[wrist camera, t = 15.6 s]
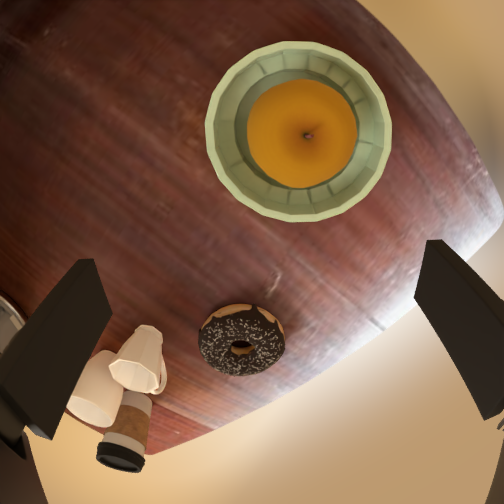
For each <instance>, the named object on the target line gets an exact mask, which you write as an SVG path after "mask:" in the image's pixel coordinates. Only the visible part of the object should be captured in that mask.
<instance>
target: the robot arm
mask: <svg viewBox="0 0 504 504" xmlns="http://www.w3.org/2000/svg"><path fill="white" fill-rule="evenodd" d="M414 299H415V300H416V302H417V303H418V305H419V306H420V308H421V309H422V311H423V313H424V314H425V315H426V317H427V319H428V320H429V322H430V324H431V325H432V327H433V328H434V330H435V332H436V333H437V335H438V337H439V338H440V340H441V341H442V343H443V345H444V346H445V348H446V350H447V352H448V353H449V355H450V357H451V359H452V360H453V362H454V364H455V366H456V367H457V369H458V371H459V373H460V374H461V376H462V378H463V380H464V382H465V384H466V386H467V388H468V389H469V391H470V393H471V395H472V397H473V399H474V401H475V403H476V405H477V407H478V409H479V411H480V413H481V415H482V417H483V419H484V420H487V419H489V418H491V417H494V416H496V415H498V414H500V413H501V412H502V411H503V409H504V301H503V300H502V299H500V298H499V297H498V295H497V294H496V293H495V292H494V291H493V290H492V289H491V288H490V287H489V286H488V285H487V284H486V283H485V281H484V280H483V279H482V278H480V276H479V275H478V274H477V273H476V272H475V271H474V270H473V269H472V268H471V267H470V266H469V265H468V264H467V263H466V262H465V261H464V260H463V259H462V258H461V257H460V256H459V255H458V254H457V253H456V252H455V251H454V250H452V249H451V248H450V247H449V246H448V245H447V244H446V243H445V242H444V241H443V240H442V239H441V240H427V242H426V247H425V252H424V257H423V261H422V266H421V270H420V275H419V279H418V283H417V287H416V291H415V295H414ZM112 314H113V313H112V310H111V308H110V305H109V302H108V300H107V297H106V294H105V292H104V289H103V286H102V283H101V280H100V277H99V274H98V271H97V268H96V265H95V262H94V259H79V260H78V261H77V262H76V263H75V264H74V265H73V266H72V267H71V268H70V270H69V271H68V272H67V273H66V274H65V275H64V276H63V278H62V279H61V280H60V281H59V282H58V283H57V285H56V286H55V287H54V288H53V289H52V291H51V292H50V293H49V294H48V295H47V297H46V298H45V299H44V300H43V302H42V303H41V304H40V305H39V307H38V308H37V309H36V310H35V312H34V313H33V314H32V315H31V317H30V318H29V319H28V318H27V317H26V315H25V314H24V312H23V311H22V310H21V308H20V307H19V306H18V305H17V304H16V303H15V302H14V301H13V300H12V299H11V298H10V297H9V296H8V295H7V294H5V293H4V292H3V291H1V290H0V504H48V502H47V499H46V496H45V493H44V490H43V488H42V485H41V482H40V479H39V476H38V472H37V469H36V466H35V463H34V459H33V455H32V452H31V448H30V444H29V440H28V437H27V435H26V433H25V432H24V431H23V429H24V427H25V425H27V427H28V428H29V429H30V430H31V431H32V432H33V433H34V434H35V435H38V436H40V437H43V438H46V439H49V440H52V439H53V437H54V434H55V432H56V429H57V427H58V425H59V422H60V420H61V418H62V415H63V413H64V411H65V408H66V406H67V404H68V402H69V399H70V397H71V395H72V393H73V391H74V389H75V386H76V384H77V382H78V380H79V378H80V376H81V374H82V372H83V370H84V368H85V366H86V364H87V362H88V360H89V358H90V356H91V354H92V352H93V350H94V348H95V346H96V344H97V342H98V340H99V338H100V336H101V334H102V332H103V330H104V329H105V327H106V325H107V323H108V321H109V319H110V318H111V316H112ZM503 425H504V418H503V420H502V421H501V422H500V423H499V424H498V427H497V429H498V430H499V429H500V428H501V427H502V426H503ZM503 431H504V429H503ZM485 504H504V440H503V444H502V449H501V453H500V457H499V461H498V465H497V468H496V472H495V475H494V479H493V482H492V485H491V488H490V491H489V494H488V497H487V500H486V503H485Z"/></svg>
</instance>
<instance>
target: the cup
mask: <svg viewBox="0 0 504 504" xmlns="http://www.w3.org/2000/svg"><path fill="white" fill-rule="evenodd" d="M162 343H163V338H162V333H161V332H159V331H158V330H157V329H156V328H155V327H153V326H148V325H141V326H139V327H138V328H137V329H135V333H134V334H133V335H132V336H131V337H130V338H129V339H128V340H127V341H126V342H125V343H124V344H123V346H122V347H121V349H120V350H119V352H118V353H117V354H116V356H115V357H114V359H113V360H112V361H111V363H110V364H109V369H110V372H111V374H112V377H113V379H114V380H116V381H117V382H118V383H120V384H121V385H123V386H124V387H126V388H127V389H128V390H132V391H137V392H143V393H149V392H150V393H152V394H159V393H161V392H162V391H163V390H164V388H165V385H166V382H167V373H166V367H165V363H164V359H163V356H162V346H161V344H162ZM160 371H161V374H162V378H161V384H160V386H159V382H160ZM157 388H158V390H157V391H156V390H155V389H157Z"/></svg>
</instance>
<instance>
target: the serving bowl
mask: <svg viewBox="0 0 504 504" xmlns="http://www.w3.org/2000/svg"><path fill="white" fill-rule="evenodd" d="M296 79H308V80H314V81H318V82H321V83H323V84H325V85H327V86H329V87H331V88H333V89H334V90H336V91H337V92H338V93H340V94H341V95H342V96H343V97H344V99H345V100H346V101H347V103H348V104H349V106H350V108H351V110H352V112H353V115H354V117H355V120H356V128H357V139H356V143H355V146H354V150H353V153H352V155H351V157H350V159H349V161H348V163H347V165H346V166H345V167H344V168H343V169H341V170H340V171H339V172H338V173H336V174H335V175H334V176H332V177H331V178H330V179H328V180H325V181H323V182H321V183H319V184H316V185H314V186H310V187H306V188H292V187H289V186H286V185H283V184H281V183H279V182H278V181H276V180H274V179H273V178H271V177H270V176H268V175H267V174H266V173H265V172H264V171H263V170H262V169H261V168H260V167H259V165H258V164H257V163H256V162H255V160H254V159H253V157H252V155H251V153H250V149H249V144H248V140H247V121H248V117H249V113H250V110H251V108H252V106H253V104H254V102H255V101H256V100H257V99H258V98H259V96H260V95H261V94H262V93H264V92H265V91H267V90H268V89H270V88H271V87H273V86H276V85H278V84H281V83H284V82H287V81H291V80H296ZM391 122H392V121H391V118H390V114H389V111H388V107H387V104H386V100H385V97H384V95H383V93H382V91H381V90H380V88H379V87H378V85H377V84H376V83H375V81H374V80H373V78H372V77H371V75H370V74H369V72H368V71H367V70H366V69H364V68H363V67H362V66H361V65H359V64H358V63H357V62H356V61H354V60H353V59H352V58H350V57H349V56H348V55H346V54H345V53H343V52H341V51H339V50H336V49H333V48H331V47H328V46H325V45H322V44H319V43H316V42H303V41H284V42H279V43H275V44H272V45H269V46H266V47H263V48H260V49H257V50H254V51H252V52H251V53H249V54H248V55H247V56H245V57H244V58H243V59H241V60H240V61H239V62H237V63H236V64H235V65H233V66H232V67H231V68H230V69H228V71H227V72H226V74H225V75H224V77H223V78H222V80H221V81H220V83H219V84H218V86H217V87H216V89H215V90H214V92H213V93H212V96H211V100H210V103H209V107H208V111H207V115H206V119H205V133H206V145H207V153H208V155H209V157H210V160H211V162H212V164H213V167H214V169H215V171H216V174H217V176H218V178H219V180H220V181H221V182H222V183H223V184H224V185H225V186H226V187H227V189H228V190H229V191H230V192H231V193H232V194H233V195H234V197H235V198H236V199H237V200H239V201H240V202H242V203H243V204H245V205H247V206H248V207H250V208H251V209H253V210H255V211H256V212H258V213H260V214H261V215H264V216H268V217H271V218H275V219H279V220H283V221H287V222H314V221H320V220H323V219H326V218H329V217H332V216H335V215H338V214H341V213H343V212H345V211H346V210H347V209H349V208H350V207H352V206H353V205H355V204H356V203H357V202H359V201H360V200H362V199H363V198H364V197H366V195H367V194H368V193H369V192H370V190H371V189H372V188H373V186H374V185H375V184H376V182H377V181H378V180H379V179H380V177H381V175H382V173H383V170H384V168H385V165H386V162H387V159H388V157H389V154H390V150H391V136H392V123H391Z"/></svg>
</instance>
